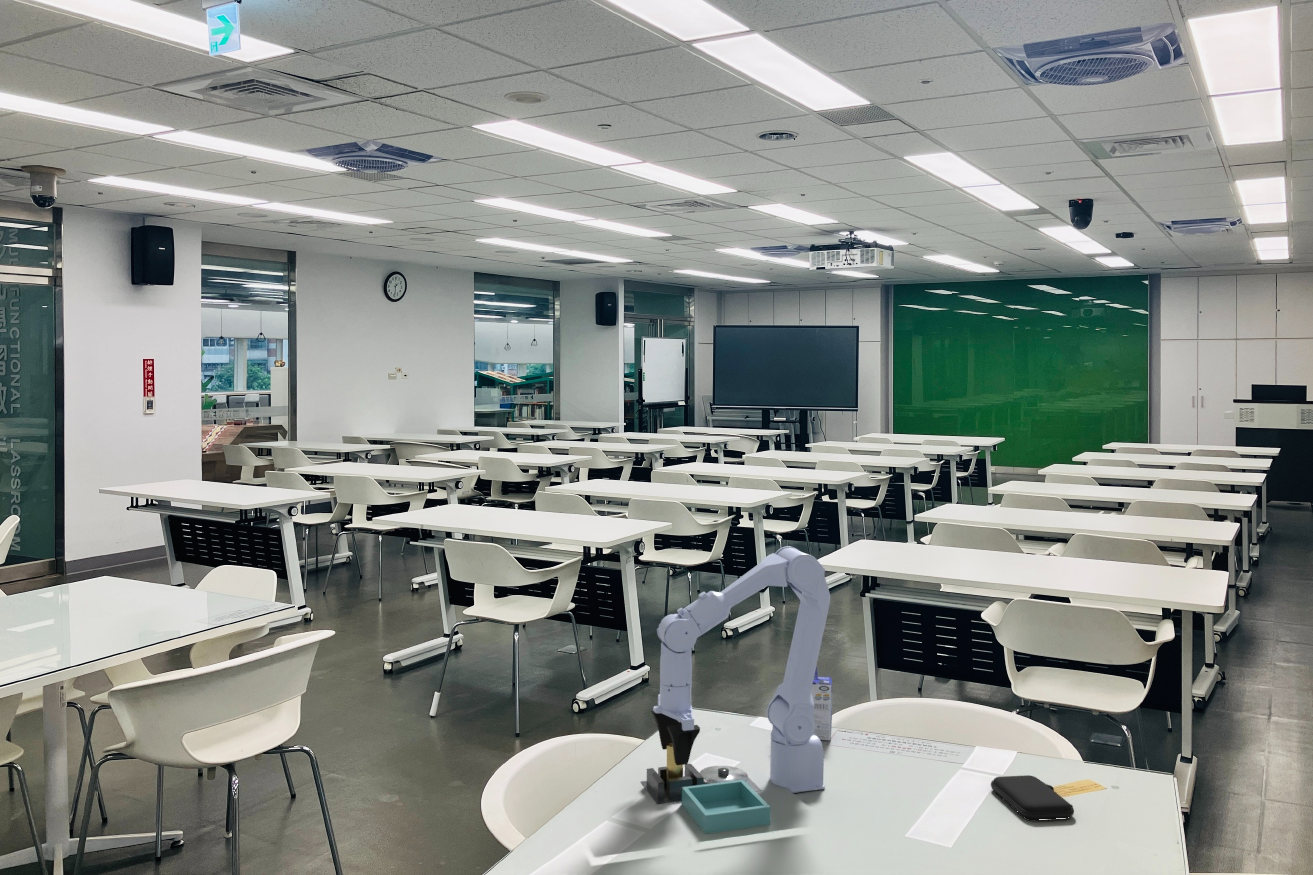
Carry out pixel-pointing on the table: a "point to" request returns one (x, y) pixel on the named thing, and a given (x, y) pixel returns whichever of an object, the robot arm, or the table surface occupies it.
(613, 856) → the table surface
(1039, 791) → the carrying case or bag
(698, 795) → the tray
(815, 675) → the ink cartridge box
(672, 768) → the pin
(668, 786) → the plate
